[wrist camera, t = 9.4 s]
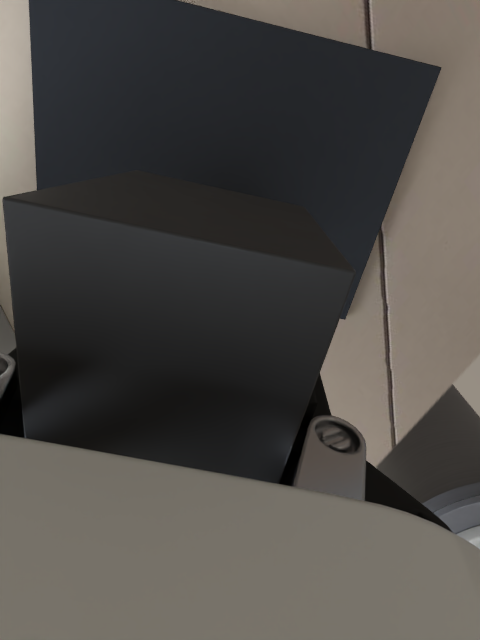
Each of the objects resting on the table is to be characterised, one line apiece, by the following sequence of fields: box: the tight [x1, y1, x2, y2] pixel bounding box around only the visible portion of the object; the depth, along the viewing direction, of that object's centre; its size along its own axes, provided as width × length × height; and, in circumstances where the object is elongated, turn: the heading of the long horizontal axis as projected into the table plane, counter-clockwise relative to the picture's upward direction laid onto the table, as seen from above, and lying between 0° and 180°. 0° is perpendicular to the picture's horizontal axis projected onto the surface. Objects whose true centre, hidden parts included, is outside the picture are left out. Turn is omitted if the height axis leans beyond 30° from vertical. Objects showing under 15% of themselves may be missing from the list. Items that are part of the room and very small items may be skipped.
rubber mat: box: [29, 0, 441, 319], centre depth 20 cm, size 20×14×1 cm
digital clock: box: [3, 170, 356, 484], centre depth 10 cm, size 10×5×6 cm, turn 169°
